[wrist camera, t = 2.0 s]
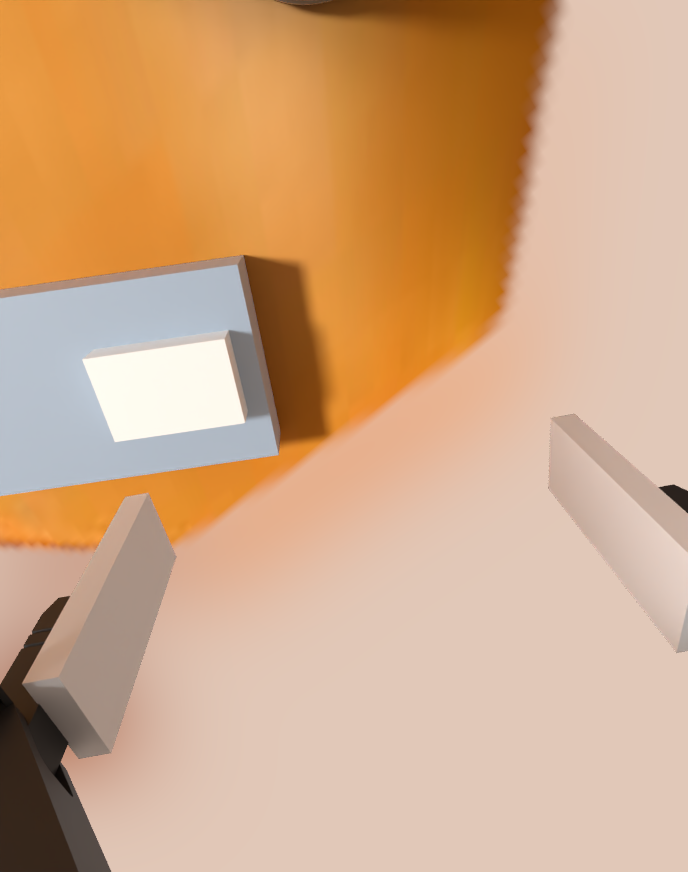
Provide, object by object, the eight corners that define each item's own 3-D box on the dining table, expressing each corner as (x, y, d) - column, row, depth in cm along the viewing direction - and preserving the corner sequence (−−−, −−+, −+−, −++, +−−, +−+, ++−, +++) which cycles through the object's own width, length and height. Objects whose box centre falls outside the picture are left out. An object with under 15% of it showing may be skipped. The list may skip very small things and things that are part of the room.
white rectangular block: (124, 428, 36) (114, 442, 34) (93, 349, 33) (82, 359, 31) (247, 410, 36) (245, 423, 34) (228, 329, 33) (224, 339, 31)
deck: (17, 469, 41) (-10, 497, 37) (-72, 299, 34) (-114, 314, 31) (280, 430, 41) (278, 454, 38) (243, 255, 34) (237, 264, 31)
